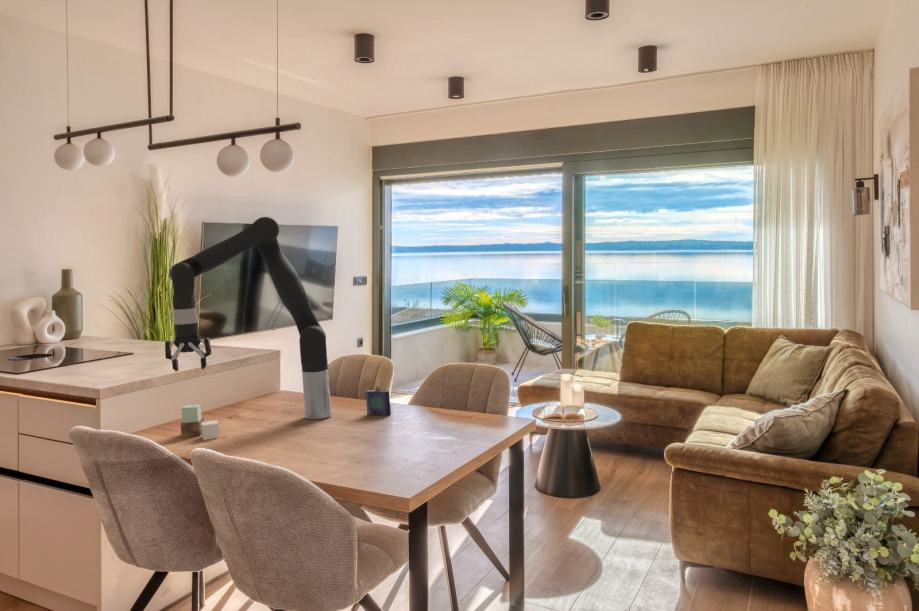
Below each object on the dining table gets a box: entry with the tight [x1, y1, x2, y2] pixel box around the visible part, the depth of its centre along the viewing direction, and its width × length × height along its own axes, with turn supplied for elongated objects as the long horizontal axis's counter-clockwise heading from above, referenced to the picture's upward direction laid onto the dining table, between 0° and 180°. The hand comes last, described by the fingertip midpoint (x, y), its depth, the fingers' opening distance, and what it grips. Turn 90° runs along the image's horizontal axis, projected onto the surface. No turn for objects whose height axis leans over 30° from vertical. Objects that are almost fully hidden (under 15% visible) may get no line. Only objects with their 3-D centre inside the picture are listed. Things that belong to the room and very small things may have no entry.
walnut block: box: [180, 417, 205, 438], centre depth 224 cm, size 6×6×5 cm
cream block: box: [201, 419, 220, 441], centre depth 219 cm, size 5×5×5 cm
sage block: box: [181, 403, 203, 423], centre depth 223 cm, size 5×5×5 cm
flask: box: [365, 385, 392, 417], centre depth 239 cm, size 9×3×11 cm, turn 71°
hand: (189, 369), depth 223 cm, fingers open, 8 cm apart
